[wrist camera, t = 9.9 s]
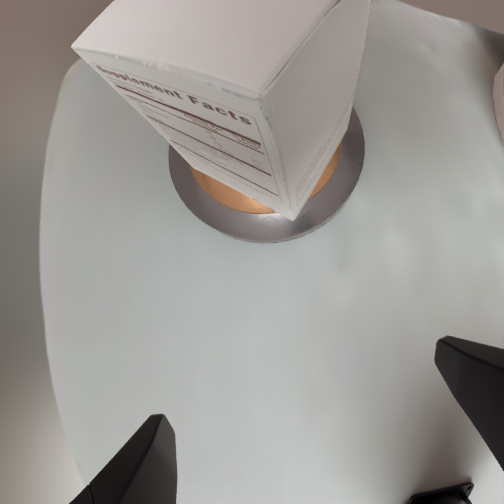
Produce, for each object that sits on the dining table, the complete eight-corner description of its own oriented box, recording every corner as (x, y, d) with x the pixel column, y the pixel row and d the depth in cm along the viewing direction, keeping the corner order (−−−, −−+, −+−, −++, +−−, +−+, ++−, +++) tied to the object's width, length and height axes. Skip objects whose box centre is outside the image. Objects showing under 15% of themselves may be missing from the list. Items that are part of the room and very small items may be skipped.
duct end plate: (353, 81, 20) (356, 65, 18) (361, 247, 18) (368, 243, 16) (191, 85, 22) (182, 70, 20) (168, 239, 21) (155, 235, 19)
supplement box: (251, 85, 19) (199, -68, 6) (350, 129, 17) (386, -42, 5) (191, 170, 19) (62, 45, 6) (292, 227, 17) (264, 100, 5)
